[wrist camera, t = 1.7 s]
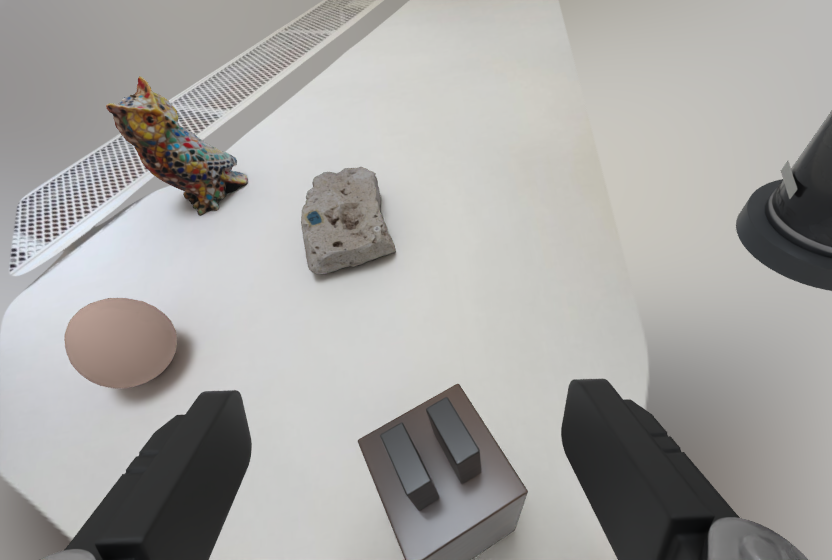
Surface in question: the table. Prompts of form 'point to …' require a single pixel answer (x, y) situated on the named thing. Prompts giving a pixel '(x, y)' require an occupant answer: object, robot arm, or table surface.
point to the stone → (344, 221)
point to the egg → (120, 342)
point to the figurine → (175, 149)
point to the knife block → (443, 480)
